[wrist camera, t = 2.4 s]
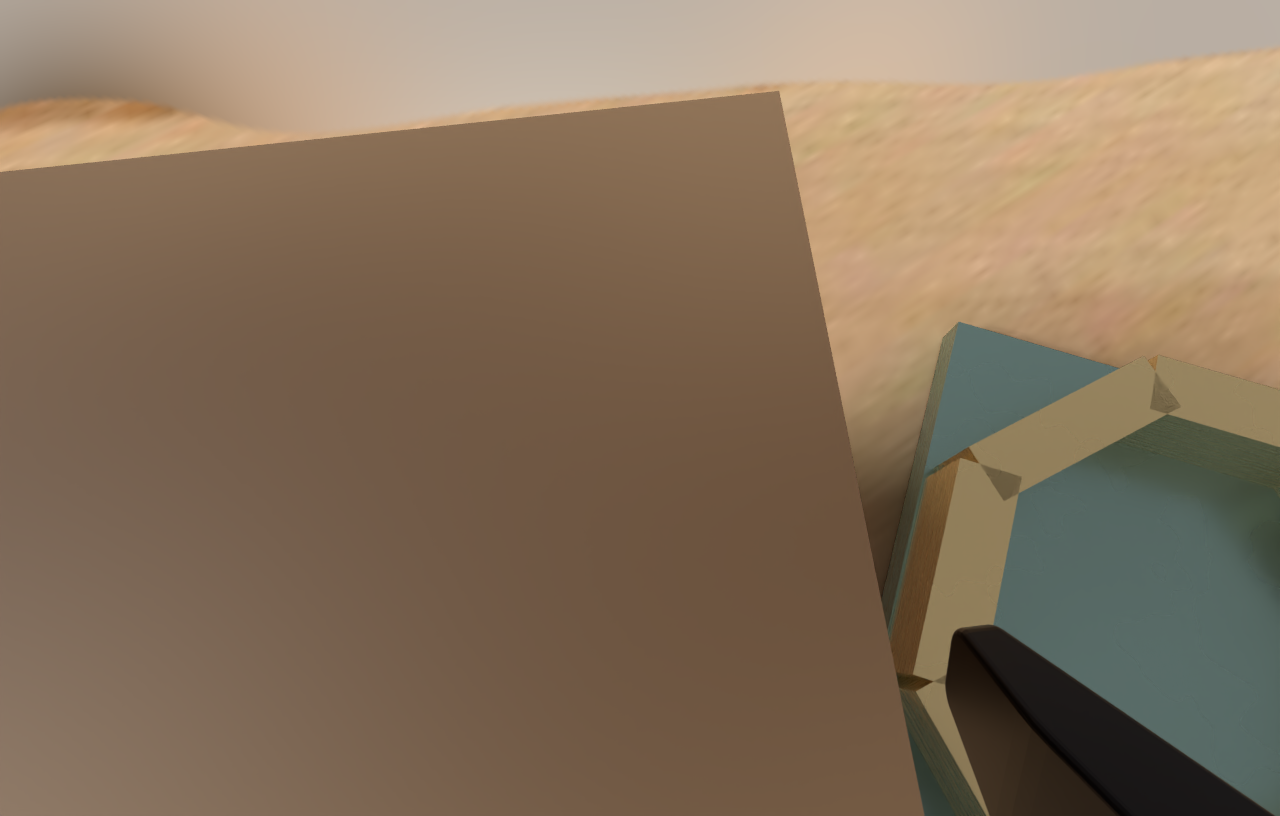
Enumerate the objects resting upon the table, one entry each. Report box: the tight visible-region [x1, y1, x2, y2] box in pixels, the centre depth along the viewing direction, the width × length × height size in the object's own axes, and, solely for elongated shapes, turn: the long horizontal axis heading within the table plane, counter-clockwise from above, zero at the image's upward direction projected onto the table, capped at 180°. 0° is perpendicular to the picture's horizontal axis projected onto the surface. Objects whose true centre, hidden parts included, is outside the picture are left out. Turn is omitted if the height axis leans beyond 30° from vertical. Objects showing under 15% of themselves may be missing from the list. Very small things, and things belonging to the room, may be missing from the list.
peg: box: [0, 91, 924, 816], centre depth 10 cm, size 5×5×14 cm
